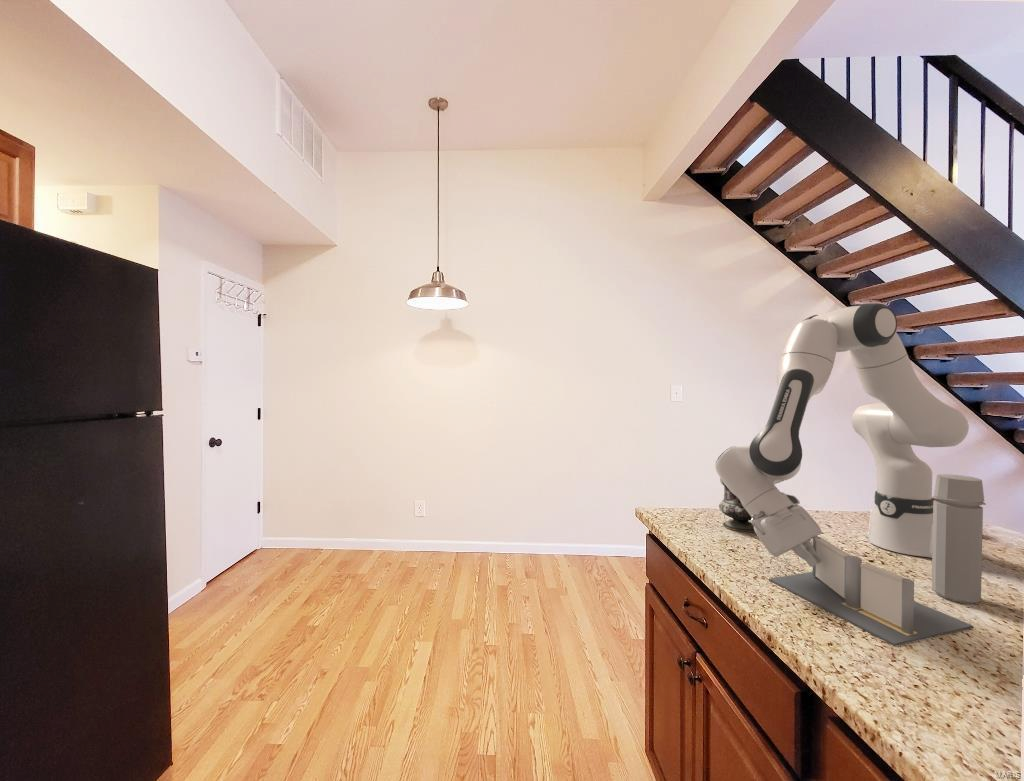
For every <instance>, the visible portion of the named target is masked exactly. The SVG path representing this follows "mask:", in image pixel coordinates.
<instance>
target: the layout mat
mask: <svg viewBox="0 0 1024 781" xmlns="http://www.w3.org/2000/svg"><path fill="white" fill-rule="evenodd" d="M768 581H769V582H770V583H773V584H774V585H777V586H778V587H781V588H783V589H784V588H785V589H784V590H786V589H787V591H788V592H790V593H792V594H794V595H796V596H798V597H800V598H802V599H803V600H806V601H807V602H809V603H811V604H813V605H815V606H817V607H819V608H820V609H823V610H825V611H827V612H829V614H832V615H834V616H836V617H838V618H840V619H842V620H843V621H845V622H847V623H849V624H852V625H853V626H855V627H857V628H858V629H861V630H862V631H865V632H867V633H869V634H870V635H873V636H874V637H876V638H878V639H880V640H882V641H884V642H886V643H888V644H889V645H892V646H893V647H895V646H899V645H905V644H908V643H909V644H910V643H912V642H917V641H921V640H926V639H930V638H934V637H938V636H944V635H948V634H952V633H956V632H961V631H965V630H970V629H973V628H974V625H972V624H970V623H968V622H966V621H964V620H961V619H958V618H956V617H954V616H952V615H948V614H946V613H944V612H941V611H940V610H937V609H934V608H932V607H929V606H927V605H925V604H923V603H920V602H918V601H915V600H914V625H913V634H907V633H904V632H903V631H901V627H899V626H897V625H895V624H893V623H891V622H889V621H886V620H884V619H882V618H880V617H878V616H876V615H874V614H872V613H870V612H868V611H866V610H864V609H861V608H860V609H855V608H851V607H849V606H847V605H846V604H845V603H846V598H843V597H842V596H840V595H839V594H838V593H837V592H835V591H834V590H833V589H831V588H830V587H829V586H828V585H826V584H825V583H824V582H822V581H821V580H820V579H819V578H817V577H814V576H813V571H810V572H809V571H808V572H804V573H802V572H801V573H797V574H790V575H783V576H778V577H770V578H768Z"/></svg>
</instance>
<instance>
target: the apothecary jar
mask: <svg viewBox="0 0 1024 781" xmlns="http://www.w3.org/2000/svg"><path fill="white" fill-rule="evenodd" d="M719 478H720V477H719ZM719 480H720V484H721V485H722V486H723V499H722V500H721V501H720V502H719V504H718V508H719V510H720V512H721V513H723V515H725V516H727V517H729V518H730V519H729V520H726V521H724V522H722V526H723V527H724V528H726V529H729V530H732V531H735V532H742V533H756V532H755V530H754V526H753V524H752V518H751V516H750V514H749V513H748V512H747V511H746V510H745V508H744V507H743V505H742V503H741V501H740V500H739V498H738V497H736V496H735V495H734V494H733V493H732V492H731V491H730V490H729V489H728V487H727V486H726V485H725V484H724V482H723V481H722V479H721V478H720V479H719Z"/></svg>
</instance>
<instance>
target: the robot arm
mask: <svg viewBox="0 0 1024 781" xmlns="http://www.w3.org/2000/svg"><path fill="white" fill-rule="evenodd" d="M897 329H898V320H897V316H896V314H895V312H894V311H893V310H892V309H891V308H890V307H888V306H887V305H885V304H884V303H879V302H877V303H874V302H873V303H864V304H862V305H852V306H846V307H841V308H836V309H835V310H834V309H833V310H831V311H827V312H823V313H821V314H814V315H810V316H809V317H806V318H804V319H803V320H802V321H800V322H799V323H797V324H796V325H795V326H794V328H793V329H792V332H791V333H790V335H789V336H788V339H787V341H786V343H785V346H784V349H783V351H782V353H781V357H780V359H779V364H778V369H777V376H776V379H777V380H776V383H777V384H776V385H777V392H776V396H775V399H774V402H773V406H772V408H771V411H770V414H769V418H768V420H767V422H766V424H765V426H764V427H763V428H762V429H761V430H760V431H759V432H758V433H757V434H756V435H755V436H754V438H753V439H752V440H751V442H750V445H746V446H745V445H744V446H736V445H734V446H730V447H728V448H727V449H726V450H724V451H723V452H722V453H721V454H720V455H719V456H718V458H717V459H716V460H715V470H716V473H717V475H718V477H719V478H721V479H722V481H723V482H724V484H725V485H726V486H727V487H728V489H729V490H730V491H731V492H732V493H733V494H734V495H735V496H736V497H738V498H739V500H740V501H741V503H742V505H743V507H744V508H745V510H746V511H747V512H748V513H749V514H750V516H751V518H752V520H751V523H752V524H753V526H754V530H755V532H754V533H755V534H756V536H757V537H758V539H759V541H760V542H761V543H762V545H763V546H764V548H765V549H766V550H767V552H769V554H770V555H772V556H773V557H774V558H777V557H779V556H781V555H784V554H787V552H790V551H791V550H792V551H793V553H794V554H795V555H797V556H798V557H799V558H801V559H802V560H804V561H805V563H807V565H808V566H810V567H812V568H813V566H815V565H817V564H818V563H820V562H821V559H820V558H819V556H818V555H817V554H816V552H815V550H814V547H813V543H812V542H810V541H811V540H813V536H818V537H819V535H821V534H822V530H821V527H820V526H819V523H817V522H816V520H815V519H814V518H813V517H812V516H811V515H810V513H809V512H808V511H807V510H806V509H805V508H804V507H803V506H801V505H800V503H801V502H800V500H799V499H798V498H797V497H796V496H795V495H792V494H787V493H784V492H783V491H780V489H778V487H777V486H776V484H779V483H781V482H784V481H788V480H790V479H792V478H793V477H795V476H796V475H797V474H798V473H799V471H800V469H801V465H802V460H803V449H802V444H801V440H800V429H801V426H802V424H803V419H804V416H805V412H806V409H807V407H808V404H809V402H810V401H811V399H812V398H813V397H814V396H815V395H817V394H818V395H819V393H821V392H823V390H824V388H825V386H826V384H827V383H828V382H829V379H830V376H831V374H832V371H833V368H834V365H835V361H836V356H837V353H843V352H844V353H845V352H848V351H849V354H850V358H851V360H852V364H853V367H854V369H855V371H856V373H857V376H858V378H859V379H858V380H859V382H860V383H861V386H862V389H863V390H864V393H866V394H868V396H870V397H873V398H875V399H876V400H878V401H879V402H874V403H868V404H867V403H866V404H862V405H860V406H858V407H857V408H856V409H855V410H854V412H853V414H852V418H851V424H852V428H853V430H854V432H856V433H857V434H858V435H859V436H860V437H861V438H862V439H863V440H864V441H865V442H866V443H867V445H868V447H869V448H870V450H871V452H872V453H871V454H872V455H873V458H874V460H875V461H874V462H875V467H876V490H875V491H874V496H873V499H874V505H875V506H874V507H873V508H871V510H870V516H869V524H868V530H866V531H864V536H865V537H866V538H867V540H868V542H869V543H871V544H873V546H877V547H879V548H882V549H884V550H887V551H892V552H894V553H895V552H896V553H898V554H904V555H909V556H917V557H924V558H931V559H932V547H933V501H934V500H937V499H935V498H931V496H933V470H932V467H930V465H928V464H927V463H926V462H925V461H924V460H922V459H921V458H919V457H918V456H917V455H916V454H915V452H914V451H913V447H912V446H916V447H917V446H918V447H925V448H949V447H955V446H956V447H957V446H958V445H959V444H961V443H962V442H963V441H964V440H965V439H966V438H967V436H968V433H969V422H968V419H967V418H966V416H965V415H964V414H963V412H961V410H959V409H957V408H954V407H952V406H950V405H948V404H946V403H945V402H942V400H940V399H939V398H938V397H936V396H935V395H933V393H932V392H930V391H929V390H928V389H927V388H926V386H925V385H924V384H923V383H922V382H921V380H920V379H919V378H918V376H917V373H916V372H915V369H914V367H913V365H912V363H911V360H910V357H909V355H908V352H907V349H906V348H905V345H904V344H903V341H902V338H900V336H899V334H898V333H897Z"/></svg>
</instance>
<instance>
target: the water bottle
mask: <svg viewBox="0 0 1024 781" xmlns="http://www.w3.org/2000/svg"><path fill="white" fill-rule="evenodd" d="M983 485H984V484H983V479H981V478H978V477H974V476H968V475H959V474H953V473H952V474H950V473H949V474H947V473H939V474H936V478H935V484H934V489H933V490H934V491H933V495H932V496H931V498H935V499H937V500H934V501H933V547H932V558H931V559H932V560H931V589H932V590H933V592H934V593H935V594H936V595H938V596H940V597H941V598H944V599H946V600H950V601H952V602H956V603H961V604H966V605H968V604H969V605H970V604H974V605H975V604H977V603H979V602H980V601H981V600H982V575H983V574H982V572H983V571H982V569H983V568H982V566H983V529H984V528H983V523H984V517H983V515H984V514H983V513H984V507H982V505H983V506H987V505H986V504H987V503H985V494H984V487H983Z"/></svg>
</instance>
